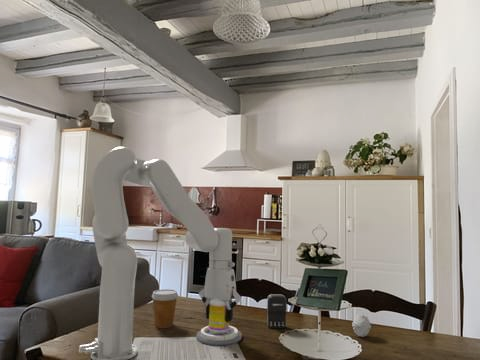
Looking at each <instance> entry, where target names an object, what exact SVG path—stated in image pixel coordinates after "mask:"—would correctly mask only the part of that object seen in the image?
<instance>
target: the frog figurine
mask: <svg viewBox="0 0 480 360" xmlns="http://www.w3.org/2000/svg"><path fill="white" fill-rule="evenodd" d="M351 324H352V325H351V326H352V329H353V332H354V333H355V335H356V336H358V337H361V338H364V337H367V335H368V334H369V332H370V330H371V328H372V325H371V322H370V320H369V319H368V316H367V315H364V314H362V313H360V314H356V316H355V317H354V319H353V320H352V323H351Z"/></svg>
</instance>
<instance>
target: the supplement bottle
mask: <svg viewBox="0 0 480 360" xmlns="http://www.w3.org/2000/svg"><path fill="white" fill-rule="evenodd" d="M215 296H217V295H215ZM226 310H227V306H226V303H225V301H222V300H218V299H211V300H210V309H209V319H208V326H209V331H210V332H213V333H225V332H227V331H228V330H229V326H230V321H229V322H226Z"/></svg>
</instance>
